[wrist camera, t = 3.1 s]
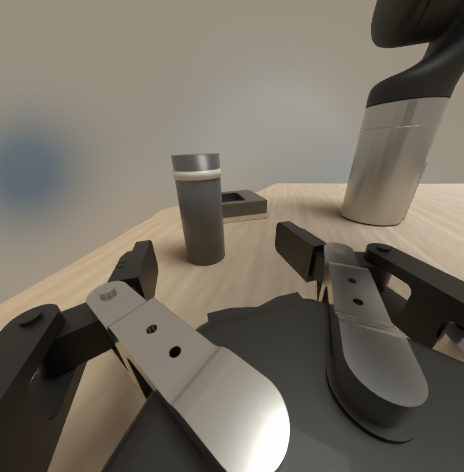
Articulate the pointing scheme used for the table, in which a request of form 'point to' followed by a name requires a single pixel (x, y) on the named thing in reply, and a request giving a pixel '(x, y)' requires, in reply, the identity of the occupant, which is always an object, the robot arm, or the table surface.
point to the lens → (200, 206)
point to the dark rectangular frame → (242, 206)
